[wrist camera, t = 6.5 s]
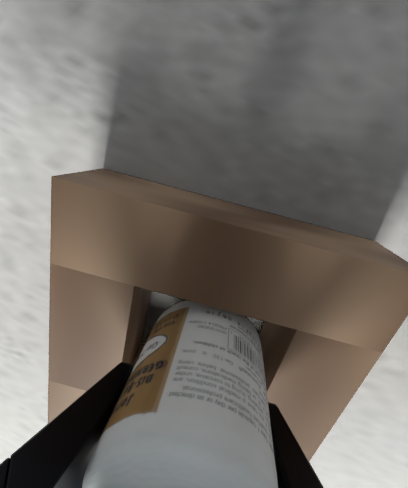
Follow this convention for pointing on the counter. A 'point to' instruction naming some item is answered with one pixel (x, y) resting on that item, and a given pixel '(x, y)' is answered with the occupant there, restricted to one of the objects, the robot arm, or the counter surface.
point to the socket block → (216, 290)
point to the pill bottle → (190, 409)
